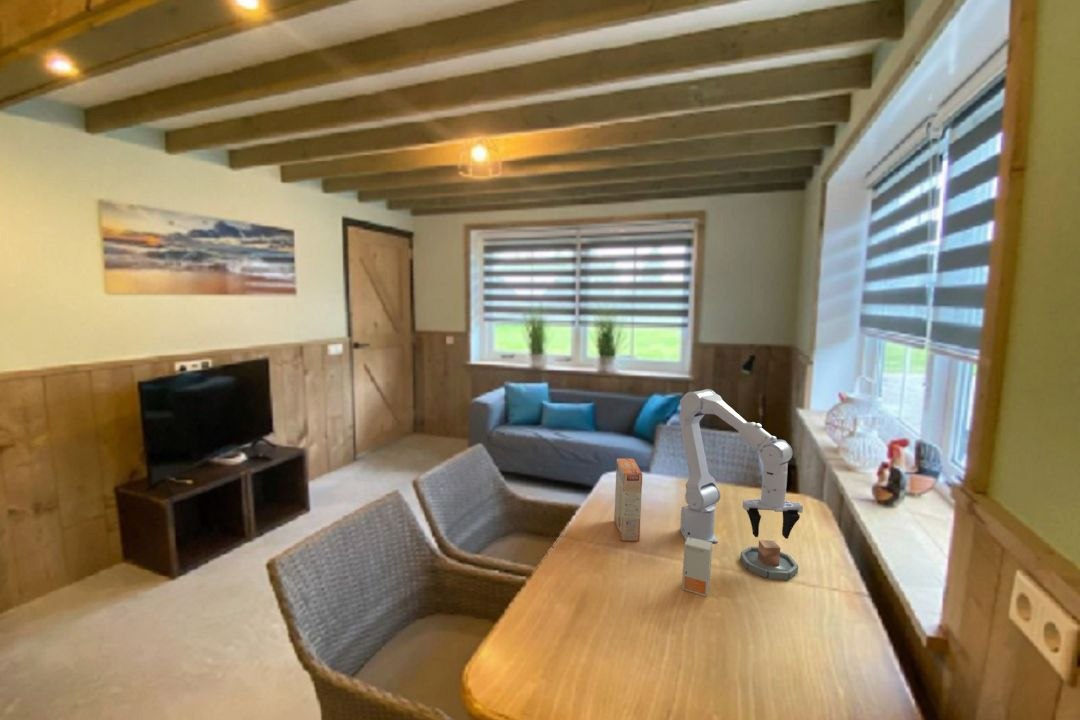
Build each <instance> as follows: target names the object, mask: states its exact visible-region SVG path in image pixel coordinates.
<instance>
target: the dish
mask: <svg viewBox="0 0 1080 720" xmlns="http://www.w3.org/2000/svg"><path fill="white" fill-rule="evenodd" d="M739 559H740V561H741V563H742V564H743V566H744V567H745V569H746V570H747V571H749V572H751V573H754V574H756V575H758V576H761V577H763V578H764V579H768V580H782V581H784V580H785V581H788V580H791V579H792V578H794V576H796V575H797V574H798V572H799V564H798V563H797V562H796V561H795V560H794V559H793V557H792V556H791V555H789V554H788V553H785V552H783V551H780V561H779V566H766V565H763V564H762V563H761V561H760V560H759V558H758V546H748V547H747V548H746V549H743V550H742V551H740V558H739Z"/></svg>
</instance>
